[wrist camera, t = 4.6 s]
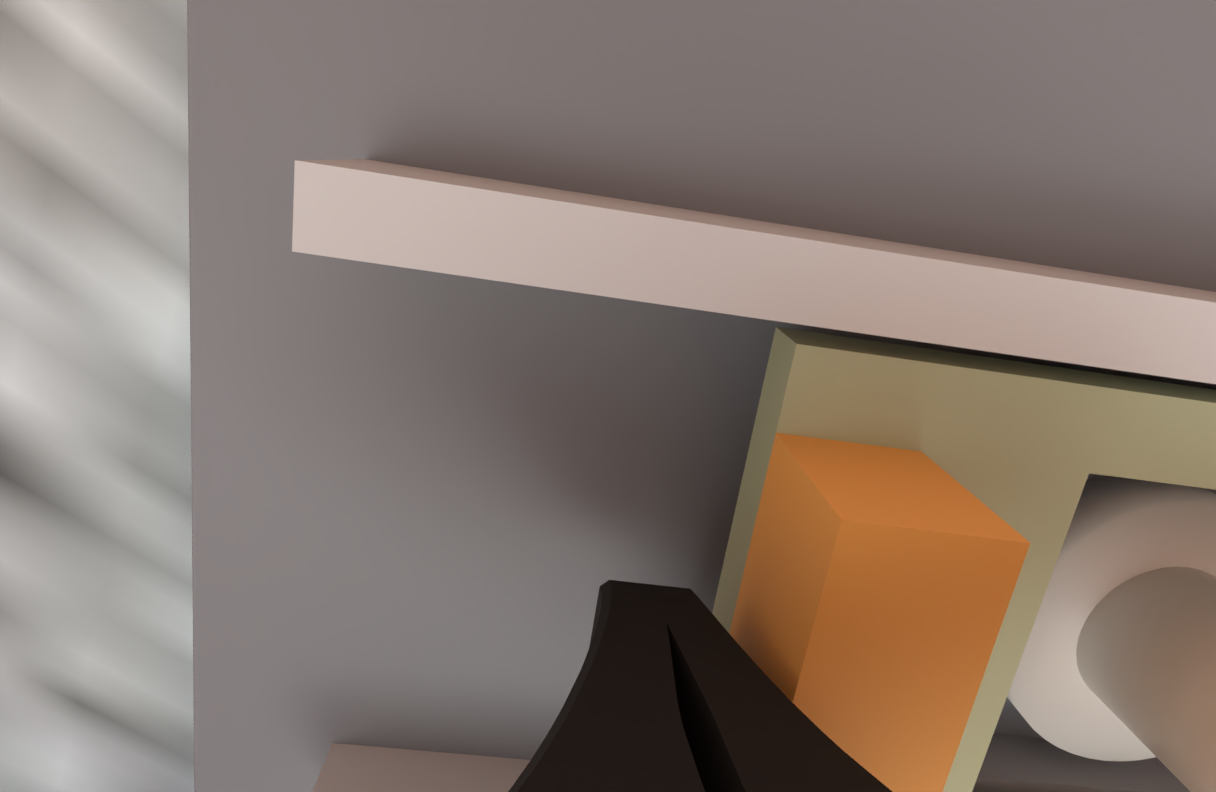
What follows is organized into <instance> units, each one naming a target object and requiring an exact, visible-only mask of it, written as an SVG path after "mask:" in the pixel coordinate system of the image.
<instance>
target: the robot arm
mask: <svg viewBox="0 0 1216 792" xmlns="http://www.w3.org/2000/svg"><path fill="white" fill-rule="evenodd" d="M508 792H892V791H891V790H890V789H889V788H887V787H886V786H885V785H884V784H883V783H881V782H880V781H879V780H878V779H877V778H875V777H874V776H873V775H872V774H871V773H869V772H868V771H867V770H866V769H865V768H863V767H862V766H861V765H860V764H859V763H857V762H856V761H855V760H854V759H853V758H851V757H850V756H849V755H848V754H847V753H845V752H844V751H843V750H842V749H841V748H840V747H839V746H838V745H837V744H835V743H834V742H833V741H832V740H831V739H830V738H829V737H828V736H827V735H826V734H824V733H823V732H822V731H821V730H820V729H819V728H818V727H817V726H816V725H815V724H814V723H813V722H812V721H811V720H810V719H809V718H808V717H807V716H806V715H805V714H804V713H803V712H802V711H801V710H800V709H799V708H798V707H797V706H796V705H795V704H793V703H792V702H791V701H790V700H789V699H788V697H787V696H786V695H785V694H784V693H783V692H782V691H781V690H780V689H779V688H778V687H777V686H776V685H775V684H774V683H773V682H772V681H771V680H770V679H769V678H768V677H767V675H766V674H765V673H764V672H763V671H762V670H761V669H760V668H759V667H758V666H757V665H756V663H755V662H754V661H753V660H752V659H751V658H750V657H749V656H748V655H747V653H746V652H745V651H744V650H743V649H742V648H741V647H740V645H739V644H738V643H737V642H736V641H735V640H734V639H733V637H732V636H731V635H730V634H729V633H728V631H727V630H726V629H725V628H724V627H723V626H722V624H721V623H720V622H719V621H718V620H717V619H716V617H715V616H714V615H713V614H712V613H711V611H710V610H709V609H708V608H707V607H706V606H705V604H704V603H703V602H702V601H701V600H700V599H699V597H698V596H697V595H696V594H695V593H694V592H693V591H692V590H691V589H689V588H680V587H671V586H662V585H652V584H643V583H634V582H625V581H616V580H608V581H607V582H605V583H604V584H602V585H601V586H600V587H599V593H598V599H597V605H596V611H595V617H594V623H593V629H592V634H591V640H590V646H589V650H588V653H587V655H586V658H585V661H584V663H583V666H582V668H581V670H580V673H579V675H578V677H577V679H576V681H575V683H574V685H573V687H572V689H571V691H570V693H569V695H568V697H567V699H566V701H565V703H564V705H563V707H562V709H561V711H560V713H559V715H558V716H557V718H556V720H555V722H554V724H553V725H552V727H551V729H550V730H549V732H548V734H547V735H546V737H545V739H544V740H543V742H542V743H541V745H540V746H539V748H538V750H537V751H536V753H535V754H534V756H533V757H532V759H531V760H530V762H529V763H528V765H527V766H526V768H525V769H524V770H523V772H522V773H521V775H520V776H519V777H518V779H517V780H516V782H515V783H514V784H513V786H512V787H511V789H510V790H509V791H508Z"/></svg>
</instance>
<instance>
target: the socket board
mask: <svg viewBox="0 0 1216 792" xmlns="http://www.w3.org/2000/svg"><path fill="white" fill-rule="evenodd" d="M187 9H188V120H189V231H190V342H191V453H192V564H193V676H194V787H195V792H508V791H509V790H510V789H511V787H512V786H513V784H514V783H515V782H516V780H517V779H518V777H519V776H520V775H521V773H522V772H523V770H524V769H525V768H526V766H527V765H528V763H529V762H530V760H531V759H532V757H533V756H534V754H535V753H536V751H537V750H538V748H539V746H540V745H541V743H542V742H543V740H544V739H545V737H546V735H547V734H548V732H549V730H550V729H551V727H552V725H553V724H554V722H555V720H556V718H557V716H558V715H559V713H560V711H561V709H562V707H563V705H564V703H565V701H566V699H567V697H568V695H569V693H570V691H571V689H572V687H573V685H574V683H575V681H576V679H577V677H578V675H579V673H580V670H581V668H582V666H583V663H584V661H585V658H586V655H587V653H588V650H589V646H590V640H591V634H592V629H593V623H594V617H595V611H596V605H597V599H598V593H599V587H600V586H601V585H602V584H604V583H605V582H607V581H608V580H616V581H625V582H634V583H643V584H652V585H662V586H671V587H680V588H689V589H691V590H692V591H693V592H694V593H695V594H696V595H697V596H698V597H699V599H700V600H701V601H702V602H703V603H704V604H705V606H706V607H707V608H708V609H709V610H710V611H711V613H712V612H713V607H714V603H715V598H716V594H717V589H718V585H719V580H720V576H721V571H722V567H723V562H724V558H725V553H726V549H727V544H728V540H729V535H730V531H731V526H732V522H733V517H734V513H735V508H736V504H737V499H738V495H739V490H740V486H741V481H742V477H743V472H744V468H745V463H746V459H747V454H748V450H749V445H750V441H751V436H752V432H753V427H754V423H755V418H756V414H757V409H758V405H759V400H760V396H761V391H762V387H763V382H764V378H765V373H766V369H767V364H768V360H769V355H770V351H771V346H772V342H773V337H774V333H775V328H776V327H780V328H787V329H794V330H801V331H808V332H815V333H822V334H829V335H836V336H843V337H850V338H857V339H864V340H871V341H878V342H885V343H892V344H899V345H906V346H913V347H920V348H927V349H934V350H941V351H948V352H955V353H962V354H969V355H976V356H983V357H990V358H997V359H1004V360H1011V361H1018V362H1025V363H1032V364H1039V365H1046V366H1053V367H1060V368H1067V369H1074V370H1081V371H1088V372H1095V373H1102V374H1109V375H1116V376H1123V377H1130V378H1137V379H1144V380H1151V381H1158V382H1165V383H1172V384H1179V385H1186V386H1193V387H1200V388H1207V389H1214V390H1216V0H187ZM1102 476H1106V475H1099V474H1091V473H1089V475H1088V478H1087V480H1086V481H1089V480H1092V479H1096V478H1099V477H1102ZM1206 489H1207V488H1206ZM1208 490H1210V491H1212V492H1214V493H1216V490H1214V489H1208ZM972 792H1190V791H1189V790H1188V789H1187V788H1186V787H1185V786H1184V785H1183V784H1182V783H1181V782H1180V781H1179V780H1178V779H1177V778H1176V777H1175V776H1174V775H1173V774H1172V773H1171V771H1170V770H1169V769H1168V768H1167V767H1166V766H1165V765H1164V764H1163V763H1162V762H1161V761H1160V760H1159V759H1158V758H1157V757H1155V758H1149V759H1144V760H1135V761H1103V760H1096V759H1090V758H1085V757H1082V756H1078V755H1075V754H1072V753H1069V752H1067V751H1065V750H1063V749H1060V748H1058V747H1056V746H1055V745H1053V744H1051V743H1050V742H1048V741H1047V740H1045V739H1044V738H1043V737H1041V736H1040V735H1039V734H1038V733H1037V732H1036V731H1035V730H1033V729H1032V727H1031V726H1030V725H1029V724H1028V723H1027V721H1026V720H1025V719H1024V718H1023V716H1022V715H1021V714H1020V713H1019V711H1018V710H1017V709H1016V708H1015V707H1014V705H1013V704H1012V703H1011V702H1010V700H1009V699H1008V698H1006V701H1005V704H1004V706H1003V709H1002V712H1001V714H1000V717H999V720H998V723H997V725H996V728H995V731H994V734H993V736H992V739H991V742H990V744H989V747H988V750H987V753H986V755H985V758H984V761H983V763H982V766H981V769H980V772H979V774H978V777H977V780H976V783H975V785H974V788H973V791H972Z"/></svg>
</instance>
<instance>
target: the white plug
mask: <svg viewBox="0 0 1216 792" xmlns="http://www.w3.org/2000/svg"><path fill="white" fill-rule="evenodd" d="M1007 698H1008V699H1009V700H1010V702H1011V703H1012V704H1013V705H1014V707H1015V708H1016V709H1017V710H1018V711H1019V713H1020V714H1021V715H1022V716H1023V718H1024V719H1025V720H1026V721H1027V723H1028V724H1029V725H1030V726H1031V727H1032V729H1033V730H1035V731H1036V732H1037V733H1038V734H1039V735H1040V736H1041V737H1043V738H1044V739H1045V740H1047V741H1048V742H1050V743H1051V744H1053V745H1055V746H1056V747H1058V748H1060V749H1063V750H1065V751H1067V752H1069V753H1072V754H1075V755H1078V756H1082V757H1085V758H1090V759H1096V760H1103V761H1135V760H1144V759H1149V758H1155V757H1157V758H1158V759H1159V760H1160V761H1161V762H1162V763H1163V764H1164V765H1165V766H1166V767H1167V768H1168V769H1169V770H1170V771H1171V773H1172V774H1173V775H1174V776H1175V777H1176V778H1177V779H1178V780H1179V781H1180V782H1181V783H1182V784H1183V785H1184V786H1185V787H1186V788H1187V789H1188V790H1189V791H1190V792H1216V493H1214V492H1212V491H1210V490H1208V489H1206V488H1199V487H1191V486H1183V485H1176V484H1168V483H1160V482H1153V481H1145V480H1137V479H1130V478H1122V477H1114V476H1102V477H1099V478H1096V479H1092V480H1089V481H1086V483H1085V486H1084V489H1083V491H1082V494H1081V497H1080V499H1079V502H1078V505H1077V508H1076V510H1075V513H1074V516H1073V518H1072V521H1071V524H1070V527H1069V529H1068V532H1067V535H1066V538H1065V540H1064V543H1063V546H1062V548H1061V551H1060V554H1059V557H1058V559H1057V562H1056V565H1055V567H1054V570H1053V573H1052V576H1051V578H1050V581H1049V584H1048V587H1047V589H1046V592H1045V595H1044V597H1043V600H1042V603H1041V606H1040V608H1039V611H1038V614H1037V616H1036V619H1035V622H1034V625H1033V627H1032V630H1031V633H1030V636H1029V638H1028V641H1027V644H1026V646H1025V649H1024V652H1023V655H1022V657H1021V660H1020V663H1019V665H1018V668H1017V671H1016V674H1015V676H1014V679H1013V682H1012V685H1011V687H1010V690H1009V693H1008V695H1007Z"/></svg>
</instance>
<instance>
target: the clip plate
mask: <svg viewBox="0 0 1216 792" xmlns="http://www.w3.org/2000/svg"><path fill="white" fill-rule="evenodd" d="M1089 473H1091V474H1099V475H1106V476H1114V477H1122V478H1130V479H1137V480H1145V481H1153V482H1160V483H1168V484H1176V485H1183V486H1191V487H1199V488H1207V489H1214V490H1216V390H1214V389H1207V388H1200V387H1193V386H1186V385H1179V384H1172V383H1165V382H1158V381H1151V380H1144V379H1137V378H1130V377H1123V376H1116V375H1109V374H1102V373H1095V372H1088V371H1081V370H1074V369H1067V368H1060V367H1053V366H1046V365H1039V364H1032V363H1025V362H1018V361H1011V360H1004V359H997V358H990V357H983V356H976V355H969V354H962V353H955V352H948V351H941V350H934V349H927V348H920V347H913V346H906V345H899V344H892V343H885V342H878V341H871V340H864V339H857V338H850V337H843V336H836V335H829V334H822V333H815V332H808V331H801V330H794V329H787V328H780V327H776V328H775V333H774V337H773V342H772V346H771V351H770V355H769V360H768V364H767V369H766V373H765V378H764V382H763V387H762V391H761V396H760V400H759V405H758V409H757V414H756V418H755V423H754V427H753V432H752V436H751V441H750V445H749V450H748V454H747V459H746V463H745V468H744V472H743V477H742V481H741V486H740V490H739V495H738V499H737V504H736V508H735V513H734V517H733V522H732V526H731V531H730V535H729V540H728V544H727V549H726V553H725V558H724V562H723V567H722V571H721V576H720V580H719V585H718V589H717V594H716V598H715V603H714V607H713V612H712V614H713V615H714V616H715V617H716V619H717V620H718V621H719V622H720V623H721V624H722V626H723V627H724V628H725V629H726V630H727V631H728V633H729V634H730V635H731V636H732V637H733V639H734V640H735V641H736V642H737V643H738V644H739V645H740V647H741V648H742V649H743V650H744V651H745V652H746V653H747V655H748V656H749V657H750V658H751V659H752V660H753V661H754V662H755V663H756V665H757V666H758V667H759V668H760V669H761V670H762V671H763V672H764V673H765V674H766V675H767V677H768V678H769V679H770V680H771V681H772V682H773V683H774V684H775V685H776V686H777V687H778V688H779V689H780V690H781V691H782V692H783V693H784V694H785V695H786V696H787V697H788V699H789V700H790V701H791V702H792V703H793V704H795V705H796V706H797V707H798V708H799V709H800V710H801V711H802V712H803V713H804V714H805V715H806V716H807V717H808V718H809V719H810V720H811V721H812V722H813V723H814V724H815V725H816V726H817V727H818V728H819V729H820V730H821V731H822V732H823V733H824V734H826V735H827V736H828V737H829V738H830V739H831V740H832V741H833V742H834V743H835V744H837V745H838V746H839V747H840V748H841V749H842V750H843V751H844V752H845V753H847V754H848V755H849V756H850V757H851V758H853V759H854V760H855V761H856V762H857V763H859V764H860V765H861V766H862V767H863V768H865V769H866V770H867V771H868V772H869V773H871V774H872V775H873V776H874V777H875V778H877V779H878V780H879V781H880V782H881V783H883V784H884V785H885V786H886V787H887V788H889V789H890V790H891V791H892V792H972V791H973V788H974V785H975V783H976V780H977V777H978V774H979V772H980V769H981V766H982V763H983V761H984V758H985V755H986V753H987V750H988V747H989V744H990V742H991V739H992V736H993V734H994V731H995V728H996V725H997V723H998V720H999V717H1000V714H1001V712H1002V709H1003V706H1004V704H1005V701H1006V698H1007V695H1008V693H1009V690H1010V687H1011V685H1012V682H1013V679H1014V676H1015V674H1016V671H1017V668H1018V665H1019V663H1020V660H1021V657H1022V655H1023V652H1024V649H1025V646H1026V644H1027V641H1028V638H1029V636H1030V633H1031V630H1032V627H1033V625H1034V622H1035V619H1036V616H1037V614H1038V611H1039V608H1040V606H1041V603H1042V600H1043V597H1044V595H1045V592H1046V589H1047V587H1048V584H1049V581H1050V578H1051V576H1052V573H1053V570H1054V567H1055V565H1056V562H1057V559H1058V557H1059V554H1060V551H1061V548H1062V546H1063V543H1064V540H1065V538H1066V535H1067V532H1068V529H1069V527H1070V524H1071V521H1072V518H1073V516H1074V513H1075V510H1076V508H1077V505H1078V502H1079V499H1080V497H1081V494H1082V491H1083V489H1084V486H1085V483H1086V480H1087V478H1088V475H1089Z"/></svg>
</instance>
